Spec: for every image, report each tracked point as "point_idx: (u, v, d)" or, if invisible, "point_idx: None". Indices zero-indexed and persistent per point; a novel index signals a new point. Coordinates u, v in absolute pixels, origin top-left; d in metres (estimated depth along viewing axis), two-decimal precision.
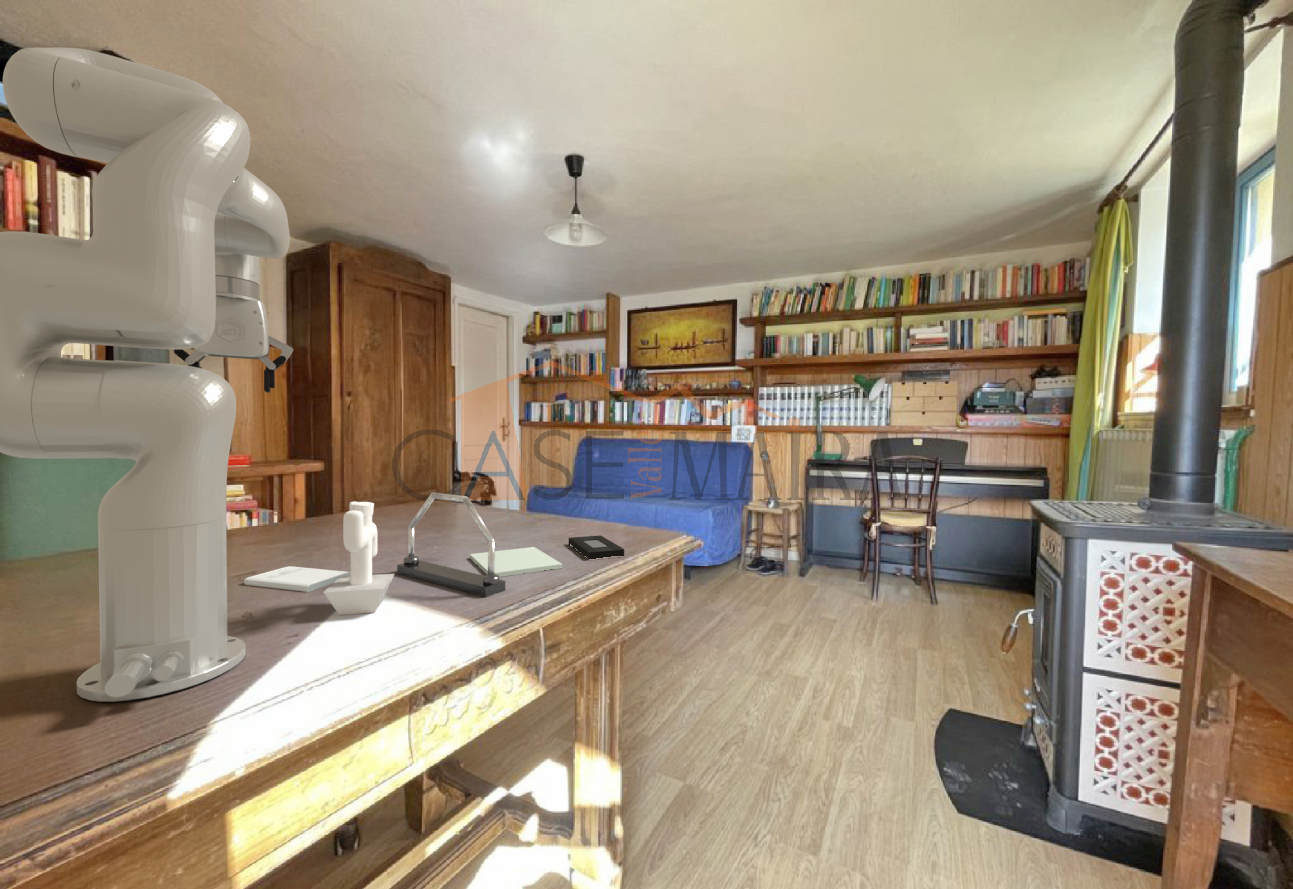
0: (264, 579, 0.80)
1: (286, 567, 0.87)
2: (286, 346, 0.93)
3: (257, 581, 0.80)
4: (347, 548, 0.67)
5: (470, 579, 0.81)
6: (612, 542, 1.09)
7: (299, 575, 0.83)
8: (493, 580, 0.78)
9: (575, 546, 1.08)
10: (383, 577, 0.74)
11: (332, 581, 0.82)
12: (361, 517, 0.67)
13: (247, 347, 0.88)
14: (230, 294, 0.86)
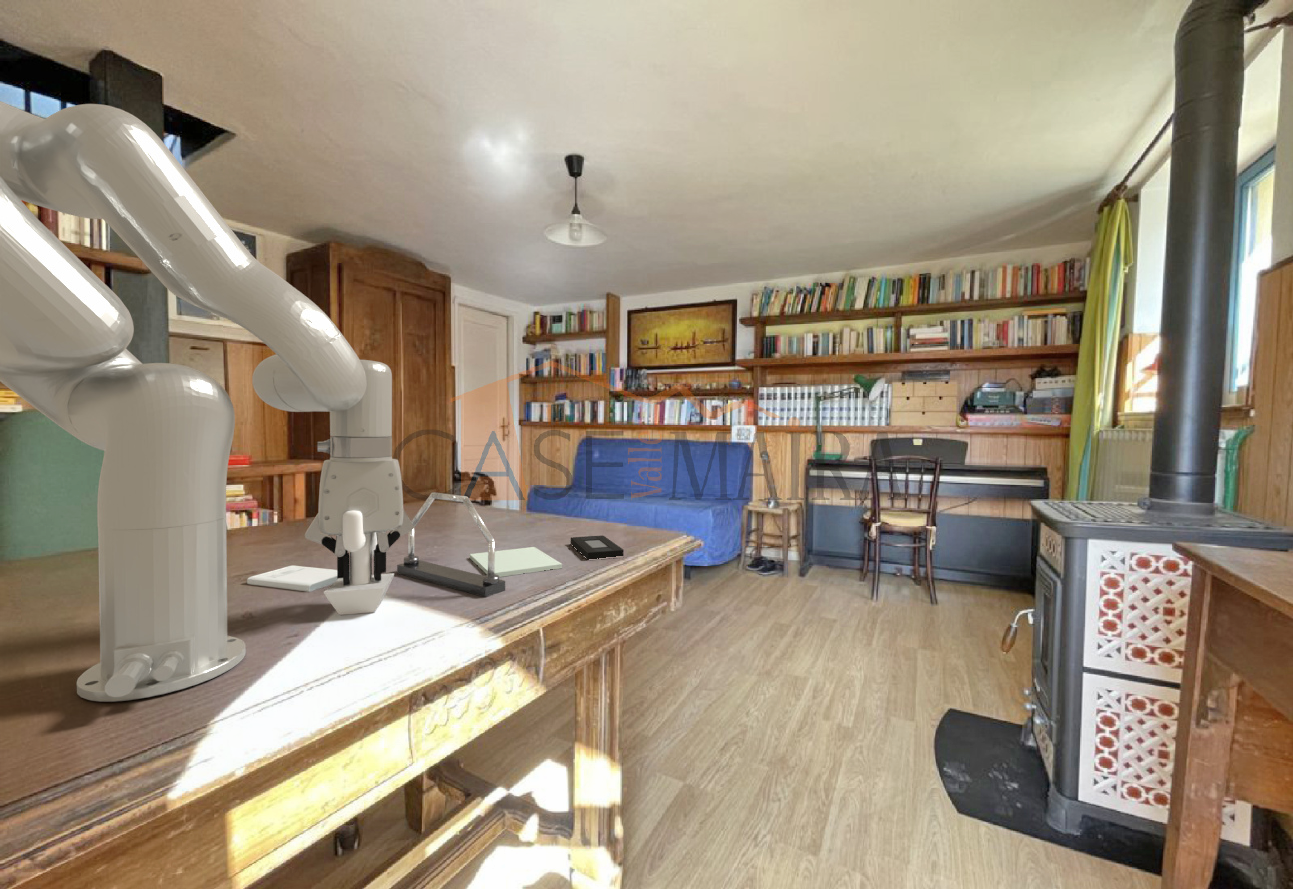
0: (267, 578, 0.81)
1: (289, 566, 0.88)
2: (409, 523, 0.74)
3: (260, 580, 0.80)
4: (346, 548, 0.67)
5: (470, 579, 0.81)
6: None
7: (301, 574, 0.83)
8: (493, 580, 0.78)
9: (576, 546, 1.08)
10: (382, 576, 0.74)
11: (334, 581, 0.82)
12: (360, 517, 0.67)
13: (382, 520, 0.70)
14: (364, 459, 0.68)
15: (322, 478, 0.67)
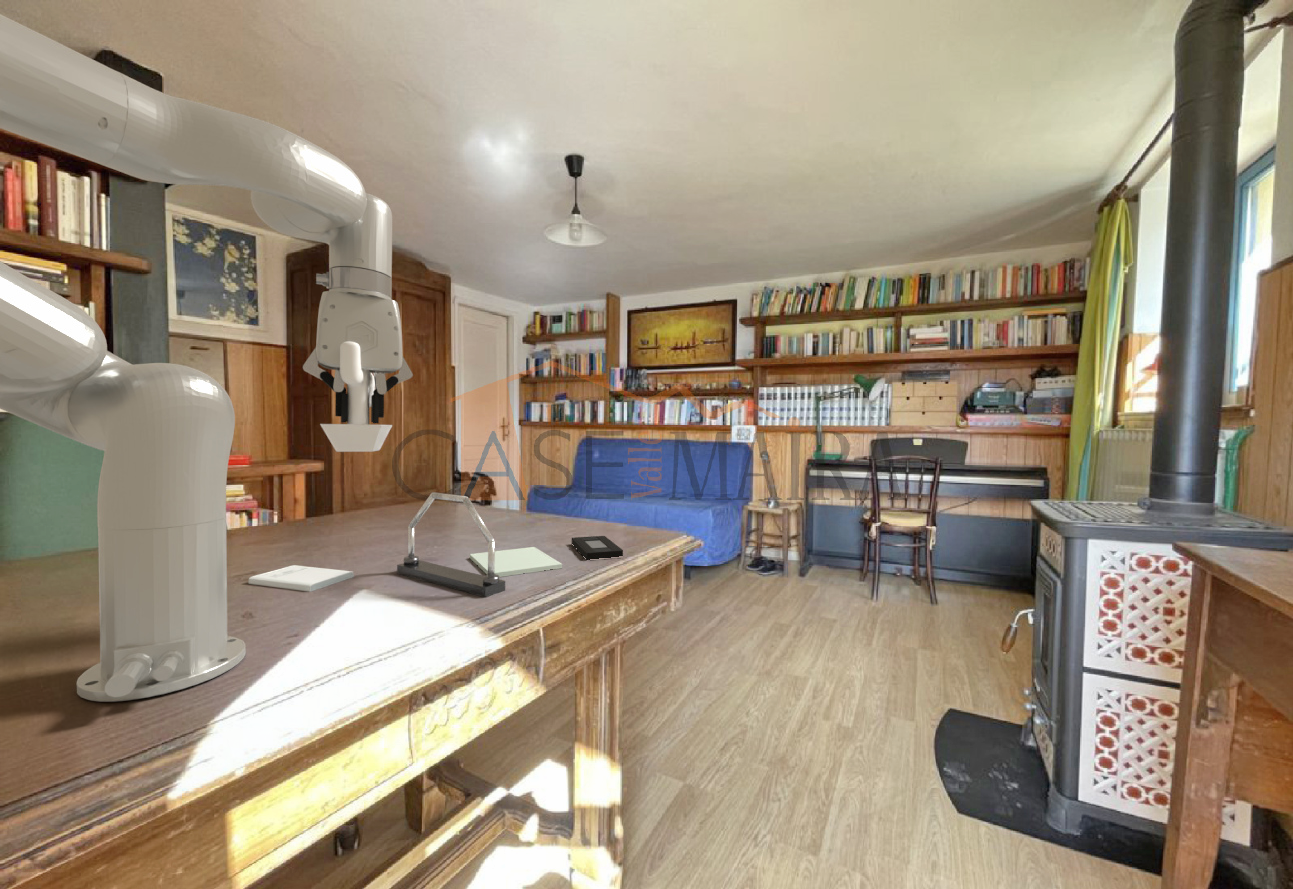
0: (268, 578, 0.81)
1: (291, 566, 0.88)
2: (408, 370, 0.73)
3: (261, 580, 0.80)
4: (344, 378, 0.66)
5: (470, 579, 0.81)
6: (613, 543, 1.08)
7: (303, 574, 0.83)
8: (493, 580, 0.78)
9: (576, 547, 1.08)
10: None
11: (335, 581, 0.82)
12: (358, 348, 0.66)
13: (380, 358, 0.69)
14: (363, 291, 0.67)
15: (320, 307, 0.66)
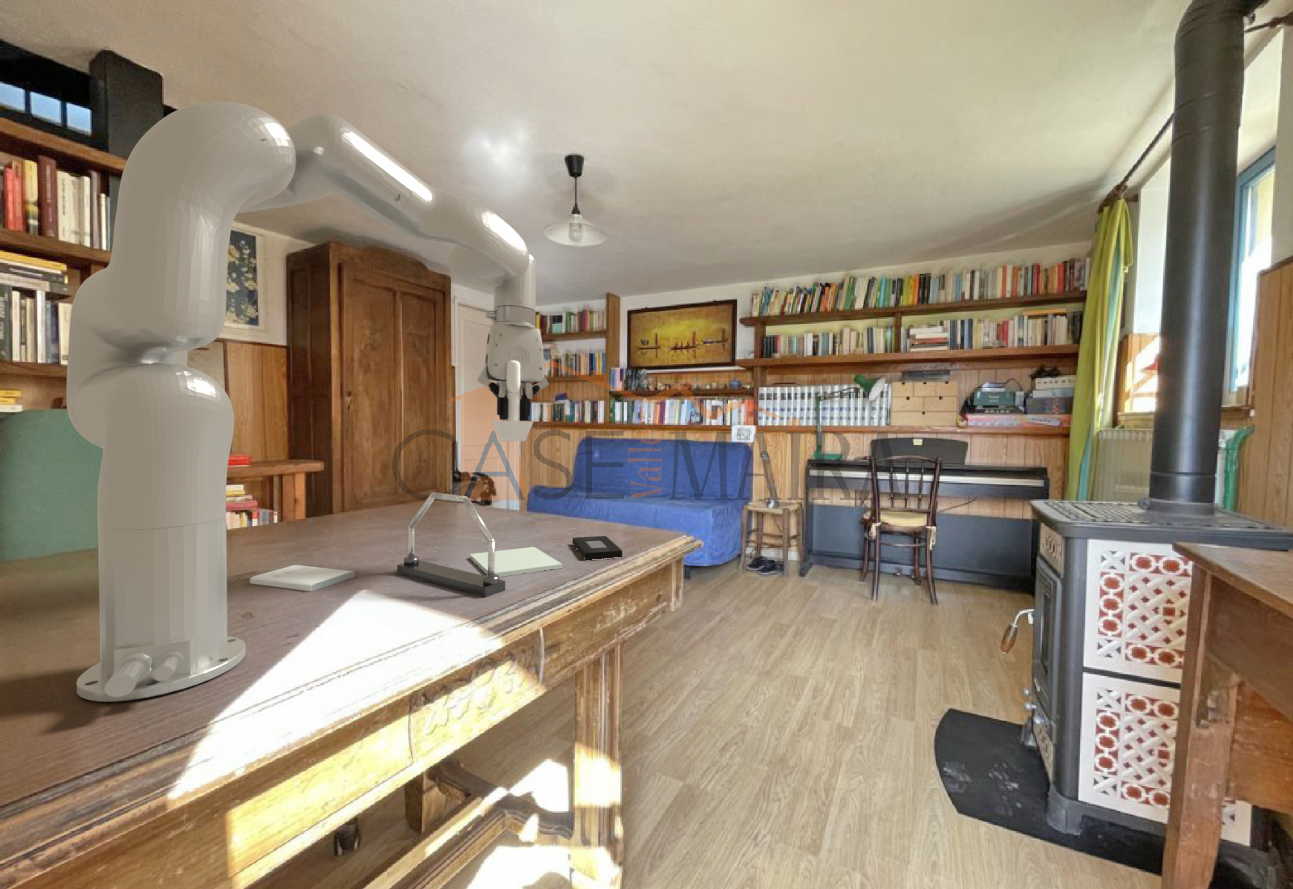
0: (269, 578, 0.81)
1: (292, 566, 0.88)
2: (545, 380, 0.97)
3: (263, 580, 0.81)
4: (510, 387, 0.90)
5: (470, 579, 0.81)
6: (613, 543, 1.08)
7: (304, 574, 0.83)
8: (493, 580, 0.78)
9: (576, 546, 1.08)
10: None
11: (336, 580, 0.82)
12: (519, 365, 0.91)
13: (531, 372, 0.93)
14: (521, 323, 0.91)
15: (492, 336, 0.90)
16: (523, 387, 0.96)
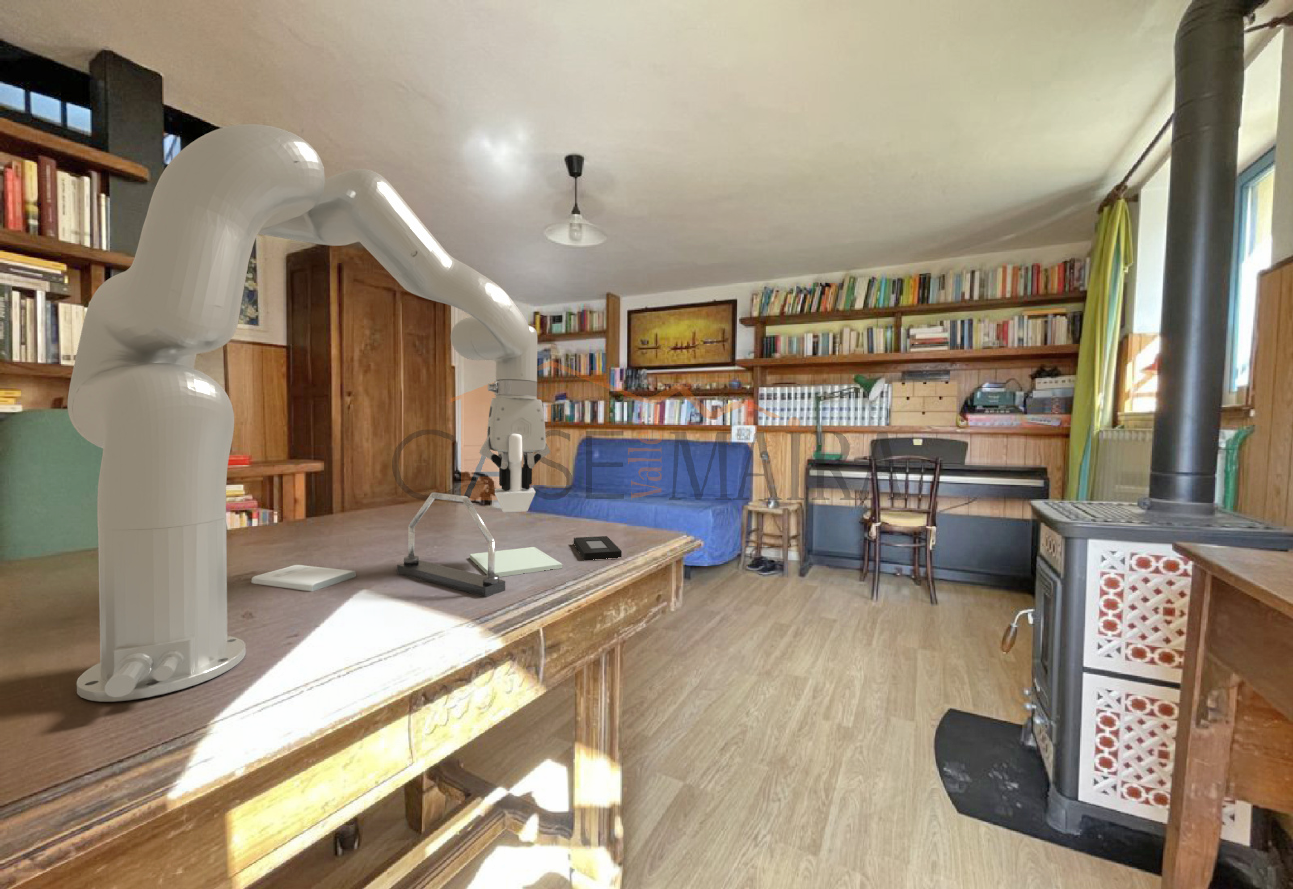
0: (270, 578, 0.81)
1: (294, 566, 0.88)
2: (547, 448, 0.98)
3: (264, 579, 0.81)
4: (512, 461, 0.91)
5: (470, 579, 0.81)
6: None
7: (305, 574, 0.83)
8: (493, 580, 0.78)
9: (577, 547, 1.08)
10: None
11: (337, 580, 0.82)
12: (521, 438, 0.92)
13: (532, 443, 0.94)
14: (523, 396, 0.92)
15: (494, 410, 0.91)
16: (525, 456, 0.97)
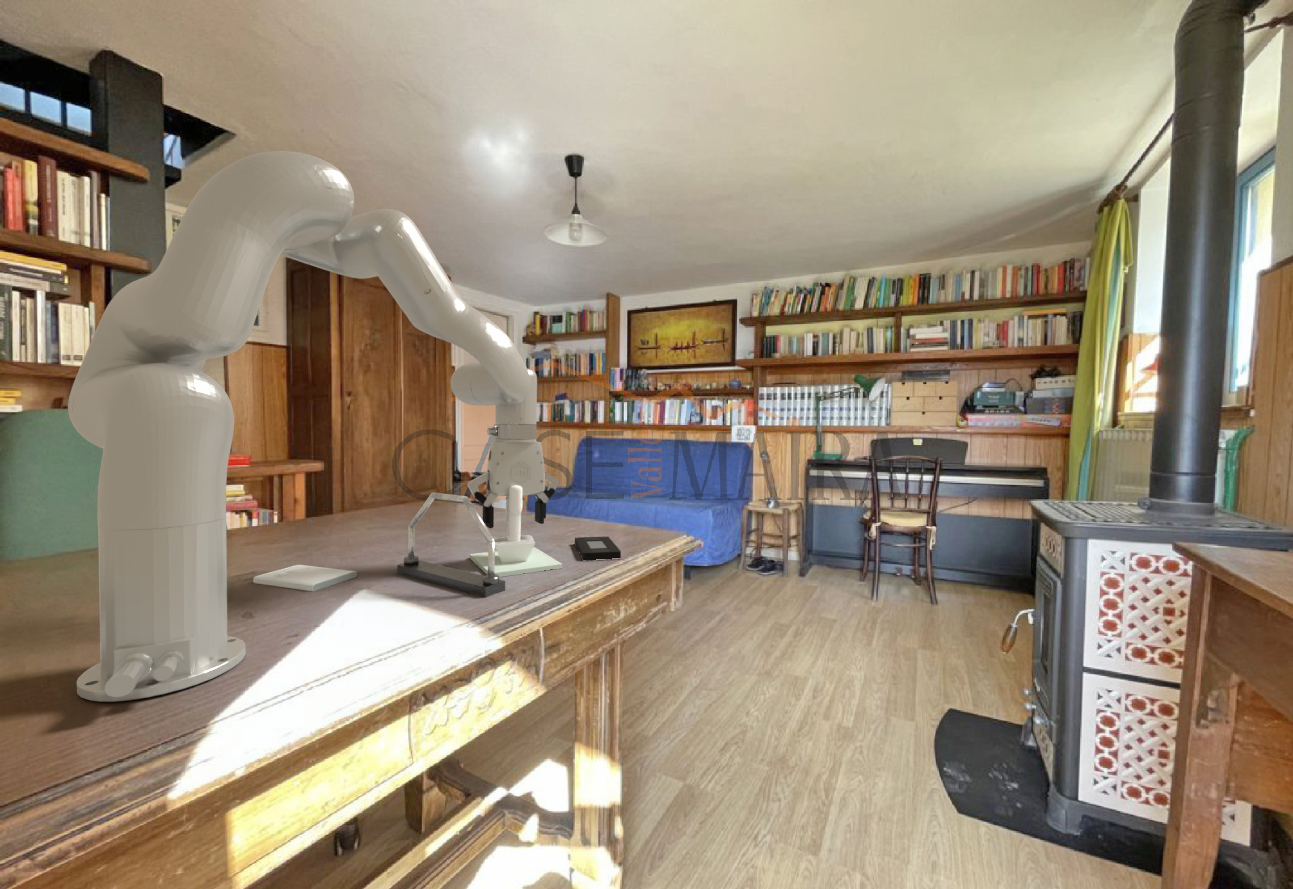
0: (272, 578, 0.81)
1: (295, 565, 0.88)
2: (555, 479, 0.99)
3: (265, 579, 0.81)
4: (512, 512, 0.91)
5: (470, 579, 0.81)
6: (614, 544, 1.07)
7: (306, 574, 0.83)
8: (493, 580, 0.78)
9: (577, 547, 1.08)
10: (525, 536, 0.99)
11: (338, 580, 0.82)
12: (521, 490, 0.92)
13: (532, 486, 0.95)
14: (523, 440, 0.92)
15: (493, 454, 0.92)
16: None
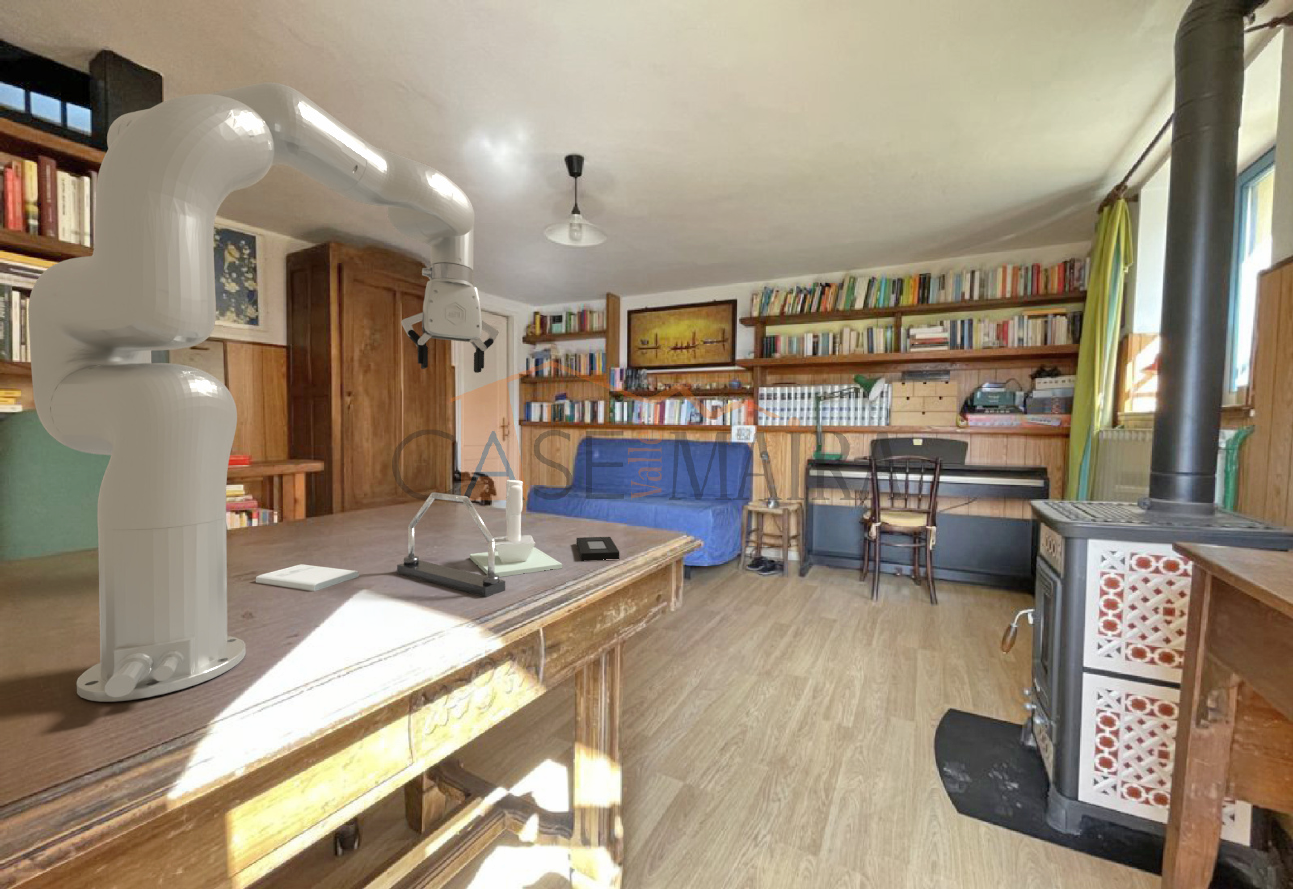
0: (274, 577, 0.81)
1: (298, 565, 0.88)
2: (493, 329, 1.00)
3: (268, 579, 0.81)
4: (512, 513, 0.91)
5: (470, 579, 0.81)
6: (614, 544, 1.07)
7: (308, 574, 0.83)
8: (493, 580, 0.78)
9: None
10: (525, 537, 0.99)
11: (339, 580, 0.83)
12: (522, 490, 0.92)
13: (467, 329, 0.95)
14: (457, 280, 0.93)
15: (427, 292, 0.92)
16: (473, 343, 0.99)
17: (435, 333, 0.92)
